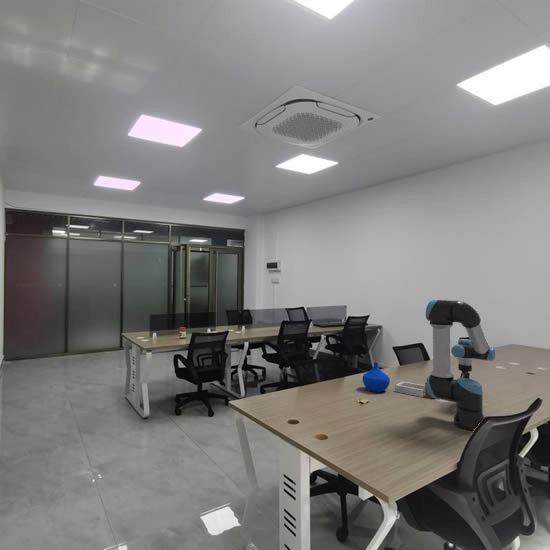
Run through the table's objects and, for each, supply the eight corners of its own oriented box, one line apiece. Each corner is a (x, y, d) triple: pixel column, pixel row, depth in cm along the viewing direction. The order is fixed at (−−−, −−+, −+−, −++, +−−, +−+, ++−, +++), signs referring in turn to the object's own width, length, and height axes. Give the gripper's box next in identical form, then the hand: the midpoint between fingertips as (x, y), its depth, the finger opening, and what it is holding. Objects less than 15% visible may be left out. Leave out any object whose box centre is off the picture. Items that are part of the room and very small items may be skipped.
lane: (429, 392, 243) (429, 386, 243) (423, 397, 233) (423, 390, 233) (402, 387, 255) (402, 381, 255) (395, 391, 245) (395, 385, 245)
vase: (380, 395, 235) (380, 366, 235) (357, 389, 248) (357, 362, 249) (394, 390, 247) (394, 363, 247) (372, 385, 260) (372, 358, 261)
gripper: (461, 361, 232) (462, 397, 231) (454, 365, 219) (455, 403, 218) (474, 362, 227) (475, 399, 226) (468, 367, 214) (468, 406, 213)
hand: (465, 401), depth 222 cm, fingers closed on tethered block, 4 cm apart
